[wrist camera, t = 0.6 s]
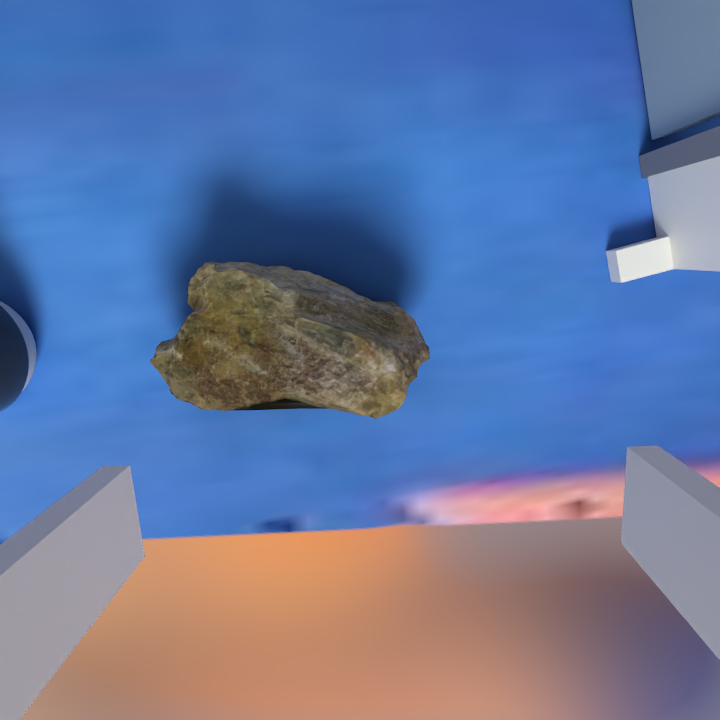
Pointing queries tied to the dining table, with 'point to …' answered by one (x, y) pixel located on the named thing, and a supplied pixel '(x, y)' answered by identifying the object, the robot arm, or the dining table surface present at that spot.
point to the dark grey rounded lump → (14, 355)
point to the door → (679, 62)
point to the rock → (288, 344)
